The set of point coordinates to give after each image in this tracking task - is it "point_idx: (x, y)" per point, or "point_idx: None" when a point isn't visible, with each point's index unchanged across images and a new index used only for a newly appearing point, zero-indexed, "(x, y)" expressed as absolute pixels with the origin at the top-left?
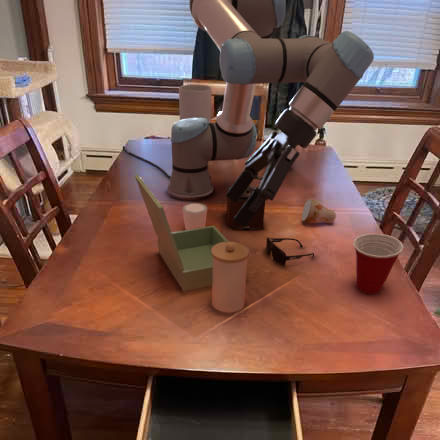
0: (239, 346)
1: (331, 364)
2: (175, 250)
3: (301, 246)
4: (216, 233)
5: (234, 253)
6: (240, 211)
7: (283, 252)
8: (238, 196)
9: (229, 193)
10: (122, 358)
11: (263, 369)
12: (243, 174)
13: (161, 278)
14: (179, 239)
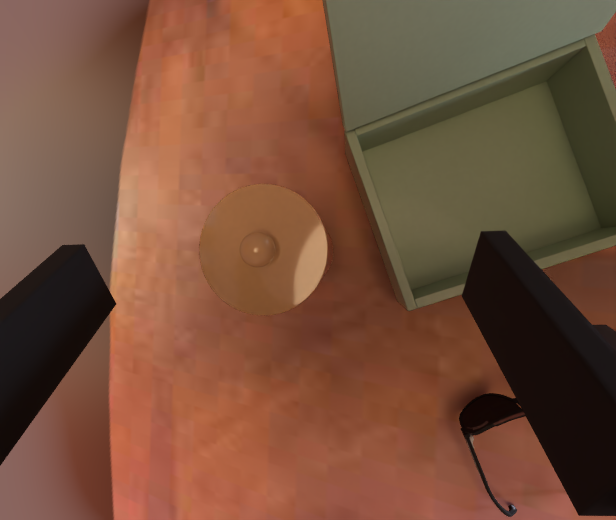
0: (169, 263)
1: (120, 418)
2: (334, 71)
3: None
4: (607, 235)
5: (239, 262)
6: (19, 286)
7: (477, 431)
8: (480, 317)
9: (491, 256)
10: (145, 50)
11: None
12: (612, 420)
13: None
14: (589, 116)
